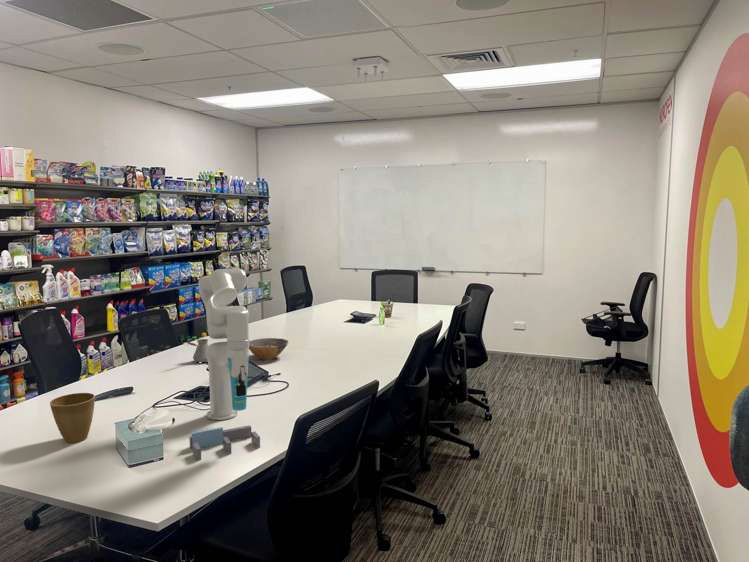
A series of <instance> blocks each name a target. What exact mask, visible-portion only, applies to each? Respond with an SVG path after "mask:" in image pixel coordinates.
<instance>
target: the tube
mask: <svg viewBox="0 0 749 562" xmlns="http://www.w3.org/2000/svg"><path fill="white" fill-rule="evenodd" d="M247 361H248V365H249V362H250V356H249V357H247ZM228 363H229V370H230V379H231V392H232V408H233V410H237V412H242V411H244V410H247V399H248V398H247V396H248V379H249V378H248V377H249V376H248V375H247V376H246V380H245V382H246V395H244V396H237V392H236V385H237V377H236V378H234V377H233V376H232V375H231V360H230V358H228ZM245 374H246V373H245ZM239 376H241V375H239ZM239 376H238V377H239ZM240 379H241V378H239V380H240Z"/></svg>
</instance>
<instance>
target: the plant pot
mask: <svg viewBox="0 0 749 562" xmlns="http://www.w3.org/2000/svg"><path fill="white" fill-rule="evenodd" d="M95 399H96V395H95V394H94V393H91V392H76V393H69V394H65V395H61V396H58V397H55V398H53V399H51V400H50V402H49V406H50V409H51V412H52V417H53V419H54V422H55V424H56V427H57V430H58V432H59V433H60V436H61V437H62V439H63V441H64V442H65V443H67V444H76V443H81V442H83V441H85V440H87V439H88V436H89V432H90V429H91V425H92V421H93V415H94V410H95V401H96V400H95Z"/></svg>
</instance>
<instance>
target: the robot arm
mask: <svg viewBox="0 0 749 562" xmlns="http://www.w3.org/2000/svg"><path fill="white" fill-rule="evenodd" d="M247 284H248V278H247V274H246V272H245V271H244V270H243V269H242V268H218V269H215V270H213V271H211V273H210V275H204V276H202V277H200V278H199V279H198V285H197V286H198V293H199V295H200V297H201V300H202V302H203V304H204V308H205V314H206V315H205V316H206V325H207V326H206V328H207V334H208V337H209V338H210V339H213V340H223V339H226V341H219V342H212V343H210V344H208V347H207V349H206V356H207V361H208V363H207V365H208V376H209V379H208V380H209V402H210V403H209V405H210V407H209V408H210V410H209V411H208V412H207V413H206V418H207V419H209V420H213V421H224V420H229V419H232V418H233V419H234V418H235V417H236V416H238V411H237V410H233V408H232V392H231V379H230V370H229V363H228V358H230V360H231V375H232V376H233V377H234V378H236V377H237V385H236V392H237V396H244V395H246V382H245V380H246V376H247V375H248V374H249V364H248V361H247V357H249V358H250V350H249V341H250V339H249V337H250V336H249V333H250V332H249V318H250V312H249V309H247V308H246V306H244V305H232V306H230V304H232V303H233V302H234V301H235V300H236V298H237V297H238V294H240V293H241V292H242V291H243V290H245V288H246V286H247ZM227 365H228V366H227ZM245 373H246V374H245ZM239 375H241V376H239ZM238 376H239V377H238ZM239 378H241V379H240V380H239Z"/></svg>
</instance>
